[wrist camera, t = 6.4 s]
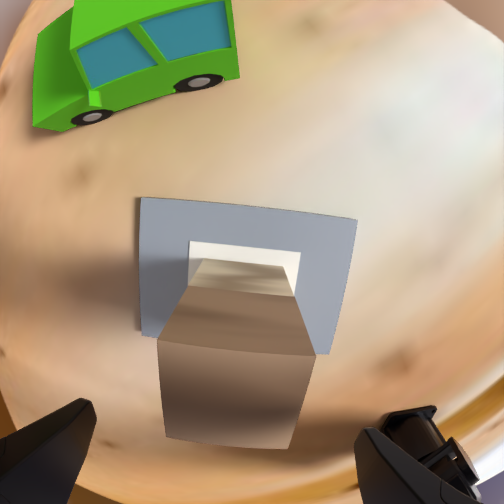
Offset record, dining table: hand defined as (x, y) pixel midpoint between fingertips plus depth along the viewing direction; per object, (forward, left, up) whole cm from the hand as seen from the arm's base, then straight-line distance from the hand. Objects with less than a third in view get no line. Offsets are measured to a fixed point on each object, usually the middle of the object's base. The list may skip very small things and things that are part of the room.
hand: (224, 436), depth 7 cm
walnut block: (0, 0, -7) cm, 7 cm away
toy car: (+9, -16, -13) cm, 22 cm away
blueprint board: (0, -1, -12) cm, 12 cm away
